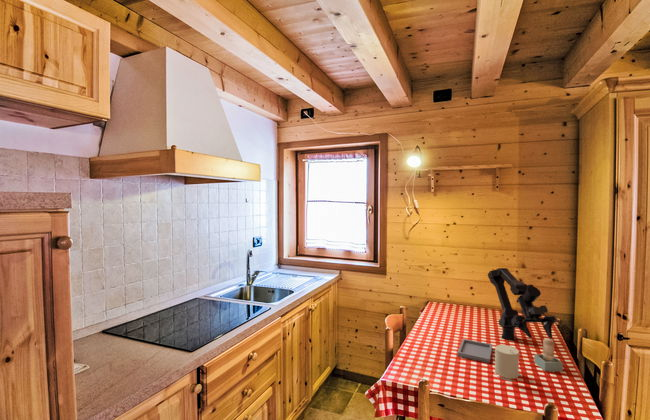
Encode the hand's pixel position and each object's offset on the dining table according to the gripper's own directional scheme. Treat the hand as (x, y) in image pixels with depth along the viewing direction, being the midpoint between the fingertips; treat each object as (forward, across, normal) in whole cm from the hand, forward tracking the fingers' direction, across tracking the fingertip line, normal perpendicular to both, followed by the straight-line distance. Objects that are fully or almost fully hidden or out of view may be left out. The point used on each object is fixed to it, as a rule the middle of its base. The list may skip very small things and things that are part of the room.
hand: (540, 338), depth 153 cm
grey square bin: (+12, 0, +4) cm, 13 cm away
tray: (+1, -26, +16) cm, 30 cm away
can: (+16, -21, +1) cm, 27 cm away
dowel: (+12, 0, +4) cm, 12 cm away
